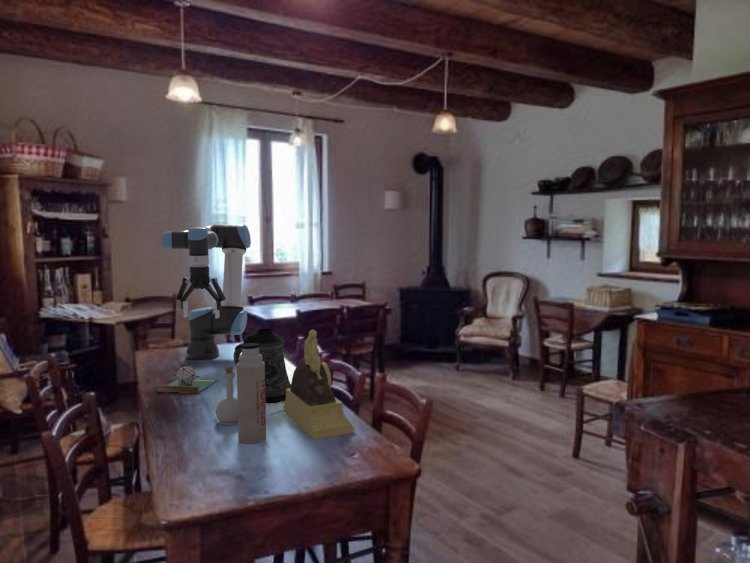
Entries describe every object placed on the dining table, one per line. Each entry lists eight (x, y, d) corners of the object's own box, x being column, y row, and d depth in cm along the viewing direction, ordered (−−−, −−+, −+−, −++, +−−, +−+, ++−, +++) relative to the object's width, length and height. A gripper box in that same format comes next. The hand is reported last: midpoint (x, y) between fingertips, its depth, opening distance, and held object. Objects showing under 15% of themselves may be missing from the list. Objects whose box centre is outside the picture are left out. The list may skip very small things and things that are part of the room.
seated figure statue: (353, 432, 168) (353, 334, 165) (313, 440, 162) (312, 338, 159) (319, 406, 192) (318, 320, 190) (283, 412, 187) (282, 323, 184)
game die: (191, 394, 218) (207, 372, 219) (183, 392, 209) (199, 369, 211) (174, 381, 219) (189, 360, 221) (165, 379, 211) (181, 357, 213)
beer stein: (301, 397, 203) (300, 329, 200) (256, 409, 189) (255, 336, 186) (273, 388, 214) (272, 323, 212) (229, 399, 200) (227, 330, 198)
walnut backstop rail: (158, 390, 210) (158, 384, 210) (198, 392, 208) (198, 386, 208) (157, 391, 209) (156, 385, 209) (197, 393, 207) (197, 387, 207)
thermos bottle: (271, 436, 164) (270, 343, 161) (252, 445, 157) (250, 348, 155) (252, 431, 168) (250, 340, 165) (232, 440, 161) (230, 345, 159)
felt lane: (180, 379, 227) (180, 377, 227) (217, 380, 225) (217, 379, 225) (158, 390, 210) (158, 389, 210) (198, 392, 208) (198, 391, 208)
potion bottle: (219, 428, 171) (218, 370, 169) (213, 419, 179) (212, 364, 177) (247, 423, 175) (246, 367, 174) (240, 415, 183) (239, 361, 181)
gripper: (165, 266, 223) (168, 318, 226) (224, 267, 219) (226, 320, 222) (175, 264, 230) (177, 314, 233) (232, 265, 227) (234, 316, 230)
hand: (201, 317), depth 228 cm, fingers open, 13 cm apart
